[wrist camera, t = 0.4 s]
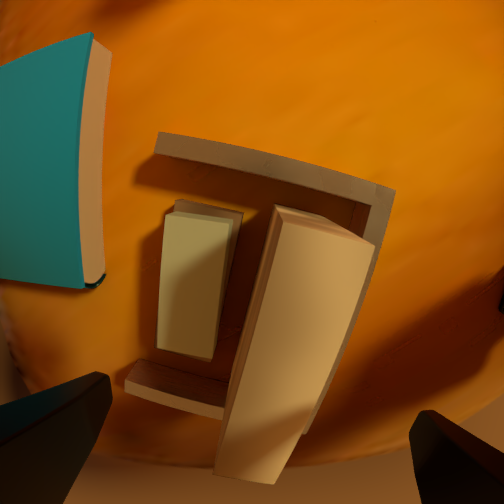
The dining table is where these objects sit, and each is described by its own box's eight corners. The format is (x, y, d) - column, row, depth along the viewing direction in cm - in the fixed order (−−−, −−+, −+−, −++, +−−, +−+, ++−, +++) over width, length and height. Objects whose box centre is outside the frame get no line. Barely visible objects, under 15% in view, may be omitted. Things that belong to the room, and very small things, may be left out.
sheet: (320, 215, 19) (375, 245, 9) (271, 376, 22) (273, 484, 12) (273, 202, 19) (283, 221, 9) (231, 367, 21) (212, 474, 12)
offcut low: (244, 211, 20) (242, 214, 18) (214, 348, 22) (210, 362, 20) (184, 198, 20) (175, 200, 18) (162, 334, 22) (153, 347, 20)
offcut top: (233, 219, 18) (229, 223, 16) (216, 343, 19) (212, 359, 18) (175, 211, 18) (165, 214, 16) (166, 333, 19) (157, 347, 18)
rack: (377, 189, 18) (395, 190, 15) (302, 408, 22) (305, 434, 19) (174, 138, 18) (158, 131, 15) (138, 370, 22) (124, 391, 19)
